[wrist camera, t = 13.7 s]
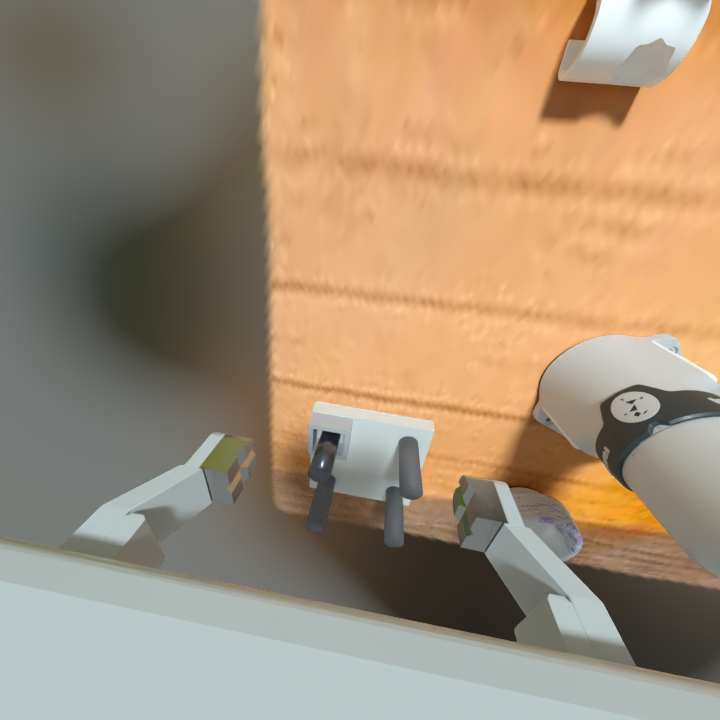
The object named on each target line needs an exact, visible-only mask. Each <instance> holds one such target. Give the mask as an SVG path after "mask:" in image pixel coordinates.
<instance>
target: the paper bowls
mask: <svg viewBox="0 0 720 720" xmlns="http://www.w3.org/2000/svg"><path fill="white" fill-rule="evenodd" d="M509 489H510V492H511V494H512V497H513V499H514V501H515V504H516V506H517V509H518V511H519V513H520V516H521V518H522V521H523V523H524V526H525V527H528V528H530V529H531V530H532V531H533V532H534V533H535V534H536V535H537V536H538V537H539V538H540V539H541V540H542V541H543V542H544V543H545V544H546V545H547V546H548V547H549V548H550V549H551V550H552V551H553V552H554V554H555V555H556V556H557V557H558V558H559V559H560V560H561V561H562V562H565V561H567V560H569V559H571V558H572V557H574V556H575V555H576V554H577V553H578V552H579V551H580V550H581V548H582V545H583V539H582V536H581V533H580V531H579V529H578V527H577V526H576V524H575V523H574V520H573V518H572V517H571V515H570V513H569V511H568V510H567V509H566V507H565V506H564V505H563V504H562V503H561V502H560V501H558V500H557V499H555V498H553V497H550V496H547V495H544V494H541V493H539V492H537V491H535V490H532V489H529V488H523V487H513V488H509Z"/></svg>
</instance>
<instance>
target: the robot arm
mask: <svg viewBox="0 0 720 720" xmlns="http://www.w3.org/2000/svg"><path fill="white" fill-rule="evenodd" d="M717 381H718V379H717V378H716V377H715V376H714V375H712V374H711V373H709V372H707V371H706V370H704V369H702V368H700V367H699V366H697V365H695V364H694V363H692V362H690V361H688V360H687V359H685V358H684V356H683V353H682V350H681V348H680V345H679V342H678V340H677V339H676V338H675V337H673V336H671V335H670V334H656V335H651V336H646V337H634V336H627V335H607V336H601V337H596V338H593V339H590V340H587V341H584V342H582V343H579V344H577V345H575V346H573V347H572V348H570V349H568V350H567V351H565V352H564V353H563V354H561V355H560V356H559V357H558V358H557V359H555V360H554V361H553V362H552V364H551V365H550V366H549V367H548V369H547V370H546V372H545V373H544V375H543V377H542V380H541V383H540V388H539V401H538V403H537V404H536V406H535V408H534V410H533V413H532V415H533V417H534V418H535V419H536V420H537V421H538V422H540V423H541V424H543V425H545V426H547V427H548V428H550V429H552V430H554V431H555V432H557V433H559V434H561V435H563V436H564V437H566V439H567V440H568V441H569V442H570V444H571V445H572V446H573V447H574V448H575V449H577V450H582V451H583V452H585V453H587V454H589V455H591V456H593V457H595V458H598V459H600V460H601V461H602V462H603V464H604V465H605V467H606V469H607V470H608V471H609V472H610V473H611V475H612V476H614V477H615V478H616V479H617V480H618V481H619V482H620V483H621V484H622V485H623V486H624V487H625V488H627V489H628V490H630V491H632V492H634V493H635V494H636V495H637V496H638V498H639V499H640V500H641V501H642V502H643V503H644V505H645V506H646V507H647V508H648V509H649V511H650V512H651V513H652V514H653V515H654V516H655V518H656V519H657V520H658V521H659V522H660V523H661V525H662V526H663V527H664V528H665V529H666V530H667V532H668V533H669V534H670V535H671V536H672V538H673V539H674V540H675V541H676V542H677V543H678V545H679V546H680V547H681V548H682V549H683V550H684V552H685V553H686V554H687V555H688V556H689V557H690V558H691V559H692V560H693V561H694V562H696V563H697V564H698V565H700V566H701V567H702V568H704V569H705V570H707V571H708V572H710V573H712V574H713V575H715V576H717V577H718V578H720V386H719V385H718V384H717V383H716V382H717ZM253 447H254V443H253V440H252V439H248V438H243V437H238V436H233V435H228V434H223V433H217V432H214V433H213V434H211V435H210V436H209V437H208V438H207V439H206V441H205V442H204V443H203V444H202V445H201V447H200V448H199V449H198V450H197V451H196V452H195V453H194V455H193V456H192V457H191V458H190V460H189V461H188V462H187V463H186V464H185V465H179V466H178V467H175V468H173V469H172V470H170V471H168V472H166V473H164V474H162V475H160V476H158V477H156V478H154V479H153V480H150V481H148V482H147V483H145V484H143V485H141V486H139V487H137V488H135V489H133V490H131V491H129V492H127V493H125V494H123V495H121V496H119V497H118V498H116V499H114V500H112V501H110V502H108V503H106V504H104V505H102V506H101V507H100V508H99V509H98V510H97V511H96V512H95V513H94V514H93V515H92V516H91V517H90V518H89V519H88V520H87V521H86V522H85V523H84V524H83V525H82V526H81V527H80V528H79V529H78V530H77V531H76V532H75V533H74V534H73V535H72V536H71V537H69V538H68V539H67V541H66V542H64V543H63V544H62V545H61V546H60V547H59V548H55V547H50V546H45V545H41V544H36V543H31V542H26V541H21V540H16V539H11V538H6V537H1V536H0V720H720V684H717V683H712V682H706V681H702V680H697V679H692V678H687V677H682V676H678V675H673V674H668V673H663V672H658V671H653V670H649V669H644V668H639V667H636V665H635V664H634V662H633V660H632V658H631V656H630V654H629V652H628V650H627V648H626V646H625V644H624V643H623V641H622V639H621V637H620V635H619V633H618V631H617V629H616V627H615V626H614V624H613V622H612V620H611V618H610V616H609V614H608V612H607V610H606V608H605V606H604V605H603V603H602V602H601V601H600V600H599V599H598V598H597V597H596V596H595V595H594V594H593V593H592V591H591V590H590V589H589V588H588V587H587V586H586V585H585V584H584V583H583V582H582V581H581V580H580V579H579V578H578V577H577V576H576V575H575V574H574V573H573V572H572V571H571V570H570V569H569V568H568V567H567V566H566V565H565V564H564V563H563V562H562V561H561V560H560V559H559V558H558V557H557V556H556V555H555V554H554V552H553V551H552V550H551V549H550V548H549V547H548V546H547V545H546V544H545V543H544V542H543V541H542V540H541V539H540V538H539V537H538V536H537V535H536V534H535V533H534V532H533V531H532V530H531V529H530V528H528V527H525V526H524V523H523V521H522V518H521V516H520V513H519V511H518V509H517V506H516V504H515V501H514V499H513V497H512V494H511V492H510V489H509V487H508V485H507V484H506V483H505V482H502V481H496V480H490V479H485V478H479V477H473V476H466V475H463V476H462V477H461V478H460V481H459V483H460V487H458V488H456V490H455V492H454V495H453V510H454V515H455V517H456V518H457V519H458V520H459V524H458V526H457V532H458V537H459V542H460V547H462V548H467V549H471V550H476V551H481V552H485V555H486V557H487V558H488V559H489V561H490V562H491V564H492V565H493V567H494V568H495V570H496V571H497V573H498V574H499V576H500V578H501V579H502V581H503V582H504V584H505V585H506V587H507V588H508V589H509V591H510V592H511V594H512V595H513V597H514V598H515V600H516V602H517V603H518V605H519V606H520V608H521V609H522V611H523V612H524V613H525V615H526V617H525V619H523V620H522V621H521V622H520V623H519V624H518V625H517V626H516V628H515V630H514V631H515V635H516V639H517V642H513V641H508V640H502V639H498V638H492V637H488V636H483V635H479V634H473V633H468V632H464V631H459V630H454V629H449V628H444V627H440V626H435V625H430V624H425V623H420V622H415V621H410V620H405V619H401V618H396V617H391V616H386V615H381V614H377V613H372V612H367V611H362V610H357V609H352V608H347V607H342V606H338V605H333V604H327V603H323V602H318V601H313V600H309V599H304V598H299V597H294V596H289V595H284V594H279V593H275V592H269V591H265V590H260V589H255V588H249V587H245V586H240V585H236V584H230V583H226V582H221V581H216V580H211V579H206V578H201V577H196V576H192V575H187V574H182V573H177V572H172V571H167V570H162V569H159V568H160V566H161V565H162V563H163V561H164V560H165V555H164V553H163V551H162V549H161V547H160V545H159V543H160V542H161V541H163V540H164V539H166V538H167V537H168V536H169V535H171V534H172V533H173V532H175V531H176V530H177V529H178V528H180V527H181V526H182V525H184V524H185V523H186V522H187V521H189V520H190V519H191V518H193V517H194V516H195V515H196V514H198V513H199V512H200V511H202V510H203V509H204V508H205V507H207V506H208V505H209V504H211V502H212V501H214V502H221V503H226V504H233V505H234V504H235V502H236V500H237V499H238V497H239V495H240V493H241V492H242V490H243V484H242V482H244V481H245V480H247V479H248V478H249V477H250V475H251V473H252V472H253V469H254V466H255V461H256V456H255V453H254V452H253V451H252V448H253Z"/></svg>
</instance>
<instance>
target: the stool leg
mask: <svg viewBox="0 0 720 720" xmlns="http://www.w3.org/2000/svg"><path fill="white" fill-rule="evenodd" d="M340 437H341V434H339V433H334V432H328V431H322V433H321V436H320V439H319V442H318V445H317V447H316V450H315V453H314V456H313V459H312V462H311V465H310V468H309V471H308V476H309V477H310V479H312V480H313V481H315V482H319V483H325V482H327V481H329V480H330V477H331V473H332V469H333V465H334V461H335V457H336V453H337V449H338V445H339V441H340Z"/></svg>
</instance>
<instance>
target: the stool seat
mask: <svg viewBox="0 0 720 720" xmlns="http://www.w3.org/2000/svg"><path fill="white" fill-rule="evenodd" d="M322 431H328V432H334V433H339V434H341V437H340V441H339V445H338V449H337V453H336V457H335V461H334V465H333V469H332V473H331V477H330V480H329V481H327V482H325V483H319V482H315V481H313V480H312V479H310V484H309V487H310V488H316V491H315V494H314V498H313V501H312V505H311V508H310V512H309V515H308V518H307V522H306V527H307V529H308V530H310V531H313V532H317V533H319V532H323V531H324V530H325V525H326V521H327V517H328V512H329V508H330V504H331V499H332V495H333V492H337V493H342V494H348V495H353V496H358V497H364V498H369V499H374V500H380V501H385V525H384V543H385V544H386V545H387V546H389V547H394V548H397V547H401V546H403V544H404V529H403V505H406V506H409V503H410V500H415V499H418V498H420V497H421V496H422V494H423V490H422V479H421V469H422V466H423V463H424V461H425V458H426V455H427V452H428V449H429V446H430V443H431V441H432V438H433V435H434V432H435V431H434V425H433V421H429V420H423V419H417V418H412V417H406V416H400V415H394V414H388V413H383V412H377V411H371V410H365V409H359V408H354V407H348V406H342V405H336V404H330V403H325V402H319V401H316V403H315V406H314V408H313V411H312V417H311V419H310V422H309V424H308V453H307V454H311V460H310V465H311V462H312V459H313V456H314V453H315V450H316V447H317V445H318V442H319V439H320V436H321V433H322Z"/></svg>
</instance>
